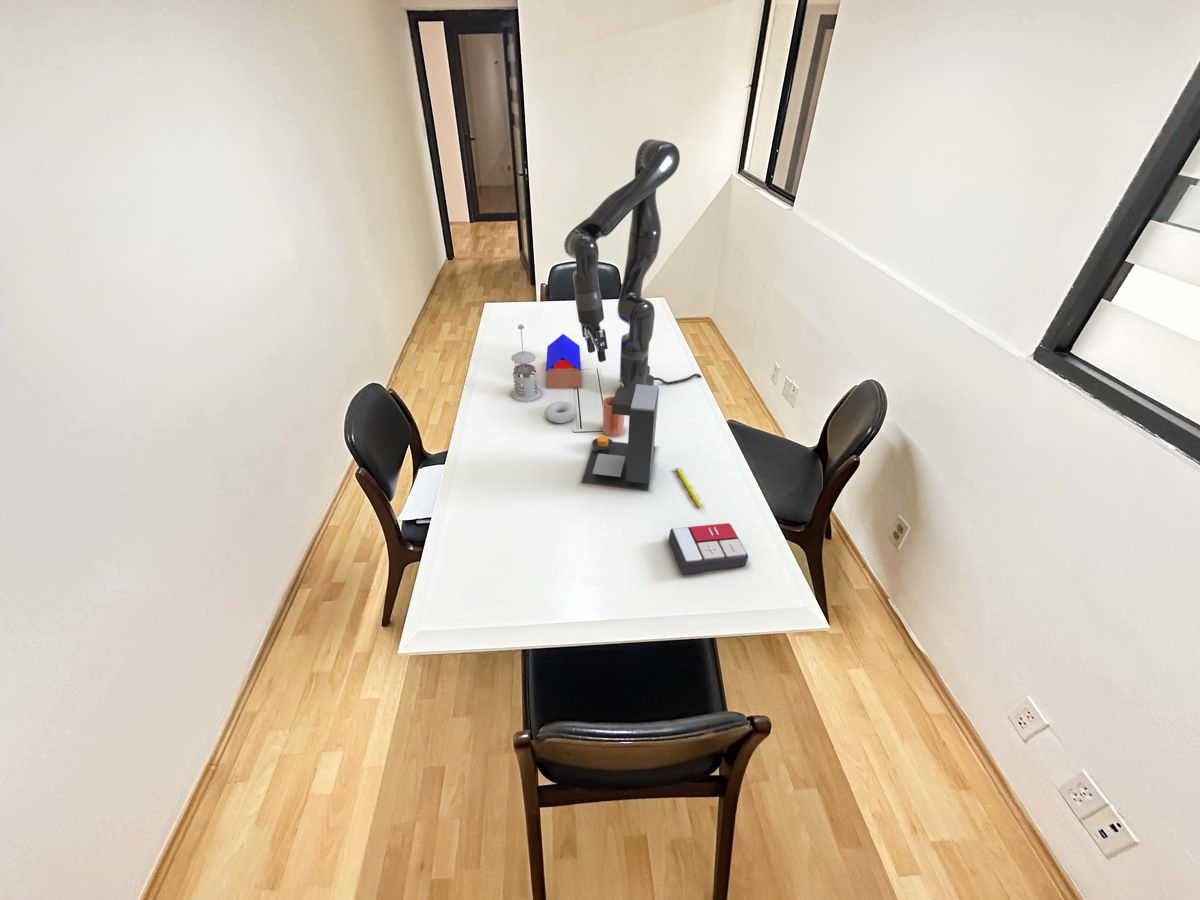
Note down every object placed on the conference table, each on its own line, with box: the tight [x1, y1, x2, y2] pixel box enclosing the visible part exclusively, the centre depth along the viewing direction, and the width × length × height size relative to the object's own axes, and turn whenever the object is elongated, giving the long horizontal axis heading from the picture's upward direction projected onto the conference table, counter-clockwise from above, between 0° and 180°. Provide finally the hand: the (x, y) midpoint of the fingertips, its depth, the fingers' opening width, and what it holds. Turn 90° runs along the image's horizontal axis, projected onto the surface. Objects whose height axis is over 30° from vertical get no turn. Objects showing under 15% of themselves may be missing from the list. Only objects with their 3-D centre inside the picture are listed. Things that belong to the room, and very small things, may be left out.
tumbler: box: [602, 395, 625, 438], centre depth 158 cm, size 6×6×10 cm
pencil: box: [675, 467, 702, 509], centre depth 139 cm, size 16×1×1 cm, turn 14°
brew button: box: [596, 434, 609, 447], centre depth 151 cm, size 3×3×2 cm
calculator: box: [668, 522, 749, 575], centre depth 120 cm, size 11×4×15 cm
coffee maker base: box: [581, 437, 656, 492], centre depth 147 cm, size 18×20×3 cm
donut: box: [544, 401, 577, 424], centre depth 167 cm, size 10×4×10 cm
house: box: [545, 333, 582, 389], centre depth 188 cm, size 12×20×12 cm, turn 3°
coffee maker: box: [592, 384, 660, 485], centre depth 136 cm, size 15×12×23 cm
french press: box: [510, 324, 542, 402], centre depth 173 cm, size 10×12×25 cm
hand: (596, 356), depth 161 cm, fingers open, 8 cm apart
